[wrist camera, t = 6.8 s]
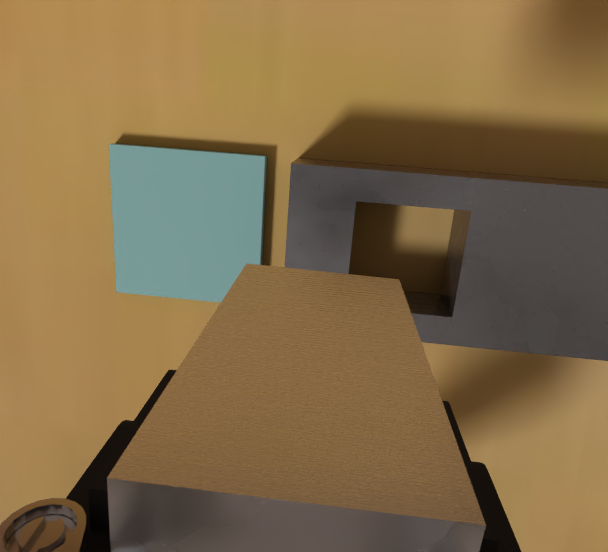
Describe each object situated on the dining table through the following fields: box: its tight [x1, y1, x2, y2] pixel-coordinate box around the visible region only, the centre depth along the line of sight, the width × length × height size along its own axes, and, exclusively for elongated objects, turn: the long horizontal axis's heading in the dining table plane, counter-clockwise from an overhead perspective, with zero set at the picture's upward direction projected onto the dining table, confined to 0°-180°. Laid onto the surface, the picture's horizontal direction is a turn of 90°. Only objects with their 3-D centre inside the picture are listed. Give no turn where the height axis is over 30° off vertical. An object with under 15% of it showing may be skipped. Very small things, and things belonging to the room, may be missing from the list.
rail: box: [285, 158, 608, 361], centre depth 30 cm, size 20×10×4 cm, turn 86°
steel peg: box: [107, 263, 486, 552], centre depth 12 cm, size 5×5×10 cm
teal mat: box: [109, 144, 267, 302], centre depth 32 cm, size 10×10×1 cm
